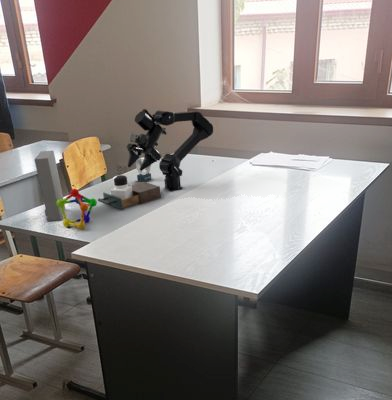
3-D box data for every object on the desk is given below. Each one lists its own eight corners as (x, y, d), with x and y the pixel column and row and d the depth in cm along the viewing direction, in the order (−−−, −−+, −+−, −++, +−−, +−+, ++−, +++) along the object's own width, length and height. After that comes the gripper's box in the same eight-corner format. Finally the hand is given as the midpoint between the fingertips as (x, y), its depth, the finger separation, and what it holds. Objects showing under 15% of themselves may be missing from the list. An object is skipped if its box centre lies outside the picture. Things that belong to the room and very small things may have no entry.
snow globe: (146, 183, 249) (144, 160, 243) (135, 181, 254) (132, 158, 248) (154, 180, 253) (152, 157, 247) (142, 178, 257) (140, 155, 251)
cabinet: (144, 192, 236) (143, 181, 233) (160, 197, 228) (159, 186, 225) (124, 198, 230) (122, 187, 227) (140, 203, 222) (139, 192, 219)
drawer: (125, 196, 231) (124, 186, 228) (142, 202, 222) (141, 192, 219) (96, 205, 222) (94, 195, 220) (112, 212, 214) (110, 201, 211)
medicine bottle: (134, 201, 225) (130, 174, 219) (127, 206, 219) (123, 178, 213) (119, 200, 227) (115, 173, 221) (112, 205, 222) (108, 178, 215)
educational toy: (104, 222, 207) (101, 186, 198) (87, 234, 197) (83, 196, 188) (71, 216, 211) (67, 180, 203) (53, 227, 201) (48, 190, 193)
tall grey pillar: (51, 210, 221) (38, 151, 208) (65, 209, 221) (53, 150, 208) (46, 221, 209) (32, 159, 196) (61, 220, 209) (47, 158, 196)
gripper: (127, 123, 221) (109, 154, 221) (152, 127, 208) (134, 161, 208) (144, 139, 229) (127, 169, 229) (169, 144, 217) (151, 176, 217)
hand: (134, 168), depth 220 cm, fingers open, 9 cm apart
